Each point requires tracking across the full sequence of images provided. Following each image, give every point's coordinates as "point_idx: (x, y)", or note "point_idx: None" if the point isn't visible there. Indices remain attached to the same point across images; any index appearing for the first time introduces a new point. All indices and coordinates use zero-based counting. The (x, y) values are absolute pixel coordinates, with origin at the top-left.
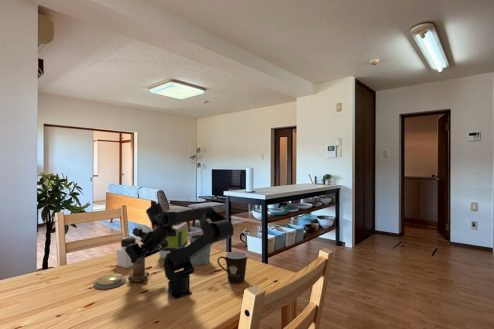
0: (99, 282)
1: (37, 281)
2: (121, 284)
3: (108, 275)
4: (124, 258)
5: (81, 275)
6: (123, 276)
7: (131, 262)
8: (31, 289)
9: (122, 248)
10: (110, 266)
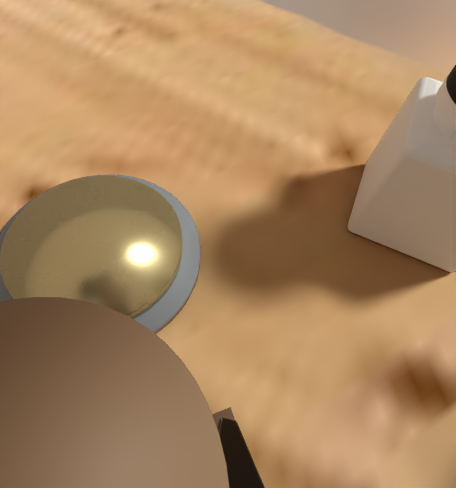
0: (20, 214)
1: (125, 8)
2: None
3: (145, 208)
4: (379, 176)
5: (199, 91)
6: (183, 297)
7: None
8: (47, 22)
9: (436, 95)
10: (340, 144)
